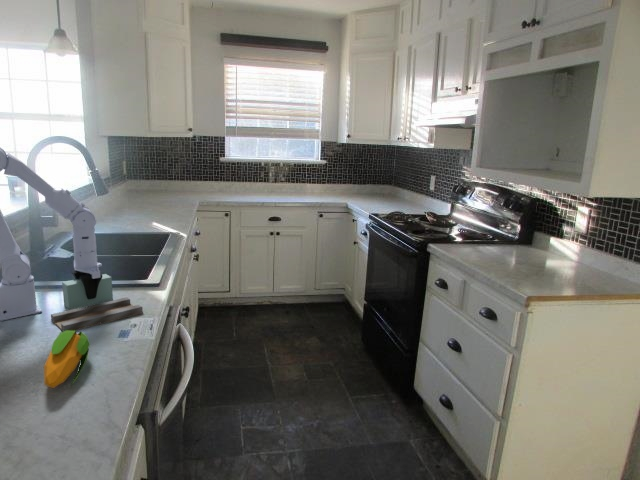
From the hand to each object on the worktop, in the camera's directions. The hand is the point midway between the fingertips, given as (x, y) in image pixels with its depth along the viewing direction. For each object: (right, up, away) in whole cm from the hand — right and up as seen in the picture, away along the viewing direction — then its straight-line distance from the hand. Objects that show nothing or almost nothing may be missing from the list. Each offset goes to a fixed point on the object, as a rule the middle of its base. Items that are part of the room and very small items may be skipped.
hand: (88, 296), depth 134 cm
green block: (0, -2, 0) cm, 2 cm away
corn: (+14, -12, -38) cm, 42 cm away
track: (+7, -4, -9) cm, 12 cm away
